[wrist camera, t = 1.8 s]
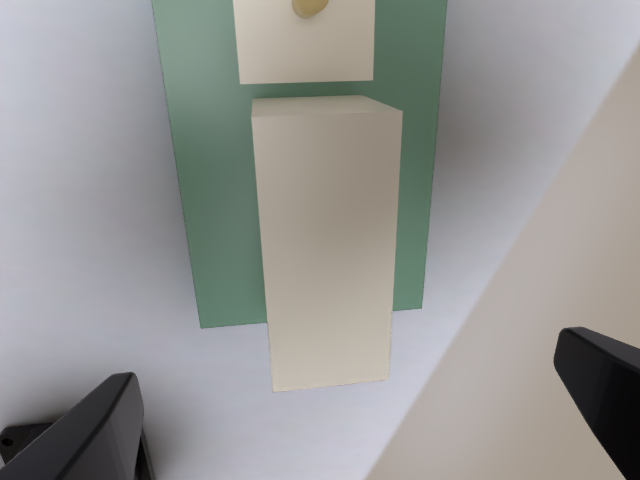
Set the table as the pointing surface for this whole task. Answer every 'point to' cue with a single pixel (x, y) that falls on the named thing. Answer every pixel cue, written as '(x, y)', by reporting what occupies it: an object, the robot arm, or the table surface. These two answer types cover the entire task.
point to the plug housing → (327, 235)
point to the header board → (279, 82)
